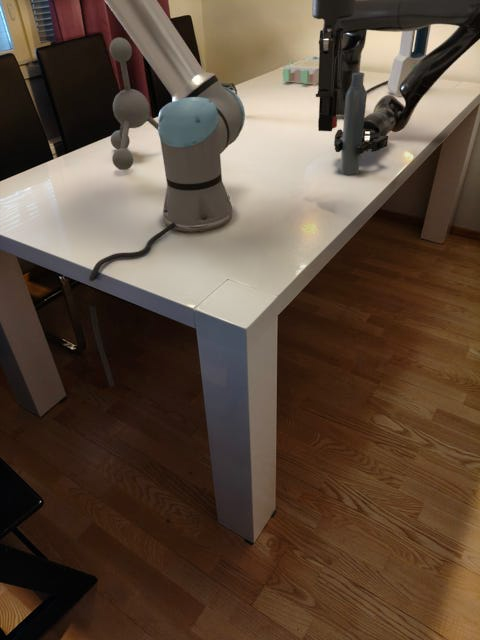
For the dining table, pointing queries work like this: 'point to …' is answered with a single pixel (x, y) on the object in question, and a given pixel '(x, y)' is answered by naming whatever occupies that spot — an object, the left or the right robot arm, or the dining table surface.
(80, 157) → the dining table surface
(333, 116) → the cap
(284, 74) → the decorative block
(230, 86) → the grenade
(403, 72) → the electronic device
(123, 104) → the molecular model
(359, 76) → the bottle
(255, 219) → the dining table surface
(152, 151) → the dining table surface
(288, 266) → the dining table surface
